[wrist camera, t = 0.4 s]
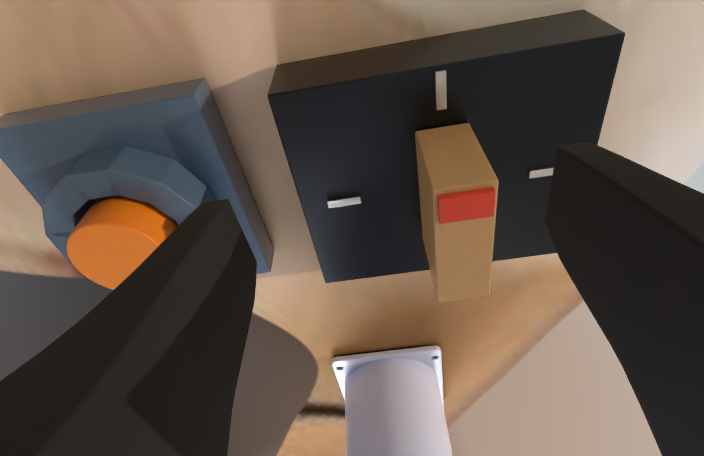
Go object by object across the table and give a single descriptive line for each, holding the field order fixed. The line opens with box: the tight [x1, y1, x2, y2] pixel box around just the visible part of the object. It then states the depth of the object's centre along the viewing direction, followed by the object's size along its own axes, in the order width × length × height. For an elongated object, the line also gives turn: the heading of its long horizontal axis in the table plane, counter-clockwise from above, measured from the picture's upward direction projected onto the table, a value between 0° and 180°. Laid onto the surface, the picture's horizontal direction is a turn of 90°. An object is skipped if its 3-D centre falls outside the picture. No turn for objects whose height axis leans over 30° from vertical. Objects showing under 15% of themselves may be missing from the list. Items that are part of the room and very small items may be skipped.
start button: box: [66, 197, 177, 289], centre depth 18 cm, size 4×4×2 cm
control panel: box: [268, 10, 625, 283], centre depth 18 cm, size 10×12×3 cm
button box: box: [0, 78, 274, 291], centre depth 19 cm, size 10×9×4 cm
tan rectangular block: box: [415, 123, 499, 303], centre depth 16 cm, size 6×2×4 cm, turn 9°
